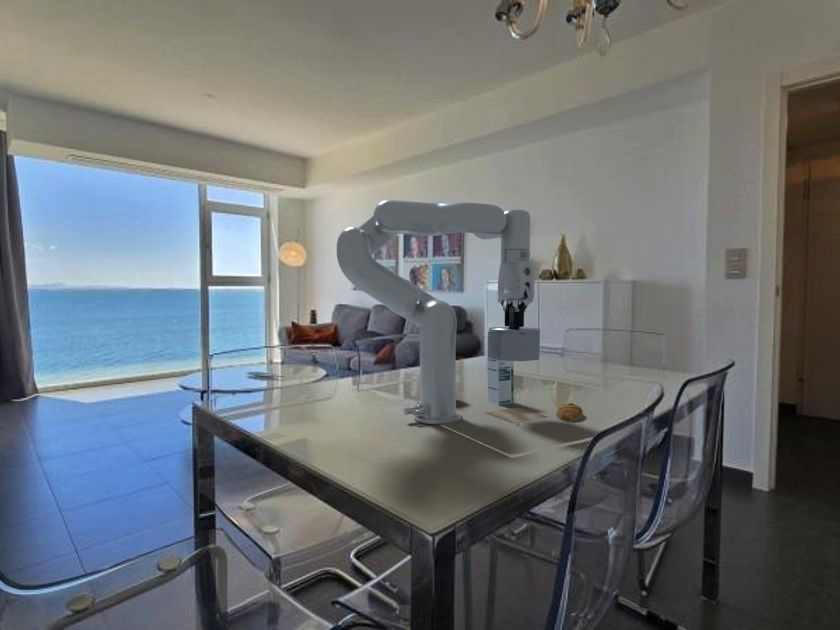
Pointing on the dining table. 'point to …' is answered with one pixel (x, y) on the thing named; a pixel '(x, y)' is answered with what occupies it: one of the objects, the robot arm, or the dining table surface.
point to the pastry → (569, 412)
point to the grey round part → (513, 342)
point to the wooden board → (515, 415)
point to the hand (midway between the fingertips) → (514, 325)
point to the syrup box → (500, 381)
